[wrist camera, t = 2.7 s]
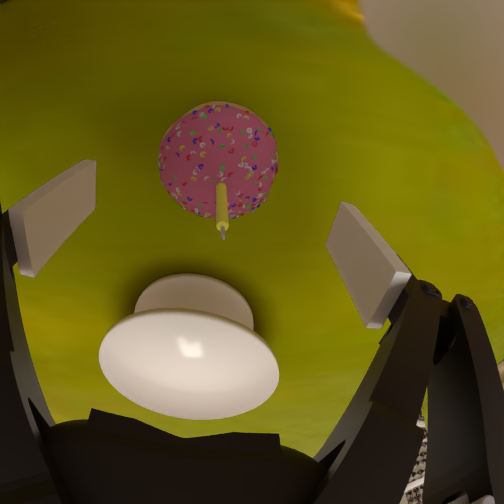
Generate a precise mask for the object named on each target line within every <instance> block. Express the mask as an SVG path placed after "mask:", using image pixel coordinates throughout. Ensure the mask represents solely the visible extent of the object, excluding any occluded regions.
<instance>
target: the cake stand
mask: <svg viewBox="0 0 504 504" xmlns="http://www.w3.org/2000/svg"><path fill="white" fill-rule="evenodd" d="M253 328H254V323H253V314H252V310H251V308H250V305H249V304H248V302H247V300H246V299H245V298H244V296H243V295H242V294H241V293H240V292H239V291H237V290H236V289H235V288H233V287H232V286H231V285H229V284H227V283H225V282H223V281H221V280H219V279H217V278H213V277H210V276H206V275H201V274H193V273H181V274H173V275H169V276H165V277H163V278H160V279H158V280H156V281H154V282H152V283H151V284H150V285H148V286H147V287H146V288H145V289H144V290H143V291H142V293H141V294H140V296H139V298H138V301H137V303H136V306H135V311H134V313H133V314H130V315H128V316H126V317H124V318H122V319H120V320H119V321H117V322H116V323H115V324H113V325H112V326H111V328H110V329H109V330H108V331H107V333H106V334H105V336H104V338H103V341H102V344H101V347H100V350H99V361H100V366H101V369H102V371H103V373H104V375H105V377H106V378H107V379H108V381H109V382H110V383H111V384H112V386H113V387H114V388H115V389H116V390H118V391H119V392H120V393H121V394H122V395H124V396H125V397H127V398H128V399H130V400H131V401H133V402H135V403H136V404H138V405H140V406H142V407H144V408H147V409H149V410H152V411H154V412H157V413H161V414H164V415H168V416H172V417H178V418H184V419H196V420H209V419H221V418H227V417H232V416H235V415H239V414H242V413H245V412H247V411H250V410H252V409H254V408H256V407H257V406H259V405H261V404H262V403H263V402H265V401H266V400H267V399H268V398H269V397H270V396H271V395H272V393H273V392H274V390H275V389H276V386H277V384H278V380H279V370H278V363H277V359H276V356H275V353H274V352H273V350H272V348H271V347H270V346H269V344H268V343H267V342H266V341H265V340H264V339H263V338H262V337H261V336H260V335H258V334H257V333H256V332H254V331H253Z"/></svg>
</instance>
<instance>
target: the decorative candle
mask: <svg viewBox="0 0 504 504" xmlns="http://www.w3.org/2000/svg"><path fill="white" fill-rule="evenodd" d="M421 415H422V411H420V414H419V417H418V420H417V424H416V425H417V426H419V427H421V428H423V430H424V438H423V442H422V445H421V448H420V451H419V454H418V457H417V460H416V463H415V466H414V469H413V471H412V474H411V477H410V479H409V482H408V484H407V487H406V489H405V492H404V493H406V497H407V500H408V504H422V496H423V485H424V476H425V466H426V453H427V431H426V426H425V423H424V422H423V421H424V417H422V416H421Z"/></svg>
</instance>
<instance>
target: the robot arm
mask: <svg viewBox="0 0 504 504" xmlns="http://www.w3.org/2000/svg"><path fill="white" fill-rule="evenodd" d="M4 1H6V0H0V3H1V2H4ZM95 209H96V160H85V159H84V160H82V161H81V162H79V163H77V164H75V165H74V166H72V167H70V168H69V169H67V170H66V171H64V172H62V173H61V174H59V175H57V176H56V177H54V178H53V179H51V180H50V181H48V182H47V183H45V184H43V185H42V186H40V187H39V188H38V189H36V190H35V191H33V192H32V193H30V194H29V195H27V196H26V197H25V198H23V199H22V200H20V201H19V202H18V203H16V204H15V205H14V206H12V207H11V208H10V209H8V210H7V211H6V212H4V213H3V214H2V211H1V203H0V504H399V503H400V501H401V499H402V496H403V494H404V492H405V489H406V487H407V484H408V482H409V479H410V477H411V474H412V471H413V469H414V466H415V463H416V460H417V457H418V454H419V451H420V448H421V445H422V442H423V438H424V430H423V428H421V427H419V426H417V425H416V424H417V420H418V417H419V414H420V410H421V407H422V403H423V400H424V396H425V392H426V388H428V433H427V453H426V466H425V476H424V485H423V496H422V504H504V390H503V386H502V382H501V378H500V374H499V371H498V367H497V363H496V360H495V357H494V353H493V350H492V347H491V344H490V341H489V338H488V335H487V332H486V329H485V327H484V324H483V321H482V319H481V316H480V313H479V311H478V308H477V307H476V305H475V304H474V303H473V301H472V300H471V299H470V298H469V297H466V296H464V295H461V294H456V295H455V297H454V298H453V300H452V302H451V303H450V302H447V301H445V300H442V294H441V293H440V291H439V290H438V289H437V288H436V287H435V286H434V285H433V284H431V283H429V282H426V281H423V280H417V279H416V277H415V276H414V275H413V273H412V272H411V271H410V270H409V268H407V266H406V265H405V263H403V261H402V260H401V258H400V257H399V256H398V255H397V254H396V253H395V252H394V251H393V250H392V248H391V247H390V246H389V245H388V244H387V242H386V241H385V240H384V239H383V238H382V236H381V235H380V234H379V233H378V232H377V231H376V229H375V228H374V227H373V226H372V225H371V224H370V223H369V221H368V220H367V219H366V218H365V217H364V216H363V215H362V214H361V212H360V211H359V210H358V209H357V208H356V207H355V206H354V205H353V204H350V203H345V202H341V203H340V206H339V209H338V212H337V215H336V217H335V220H334V223H333V226H332V229H331V232H330V234H329V237H328V240H327V243H326V245H325V246H326V248H327V249H328V251H329V253H330V255H331V257H332V259H333V261H334V263H335V265H336V267H337V269H338V271H339V273H340V275H341V277H342V279H343V281H344V283H345V285H346V287H347V289H348V291H349V293H350V295H351V297H352V300H353V302H354V304H355V306H356V308H357V310H358V312H359V314H360V316H361V319H362V321H363V323H364V325H365V327H366V328H381V327H382V326H383V324H384V322H385V321H386V319H387V317H388V318H389V320H390V322H391V325H390V327H389V328H388V330H387V331H386V333H385V334H384V336H383V338H382V339H381V341H380V342H379V344H380V347H379V349H378V351H377V353H376V355H375V357H374V359H373V361H372V363H371V365H370V367H369V369H368V371H367V373H366V375H365V377H364V378H363V380H362V382H361V384H360V386H359V388H358V389H357V391H356V393H355V395H354V397H353V398H352V400H351V402H350V404H349V405H348V407H347V409H346V410H345V412H344V414H343V415H342V417H341V419H340V420H339V422H338V424H337V425H336V427H335V428H334V430H333V432H332V433H331V435H330V436H329V438H328V439H327V441H326V442H325V444H324V445H323V447H322V448H321V449H320V451H319V452H318V453H317V454H316V456H315V457H314V458H311V457H309V456H308V455H306V454H304V453H302V452H299V451H297V450H295V449H292V448H289V447H286V446H282V445H280V438H279V434H271V433H240V432H231V433H225V434H218V435H210V436H202V437H193V438H181V437H178V436H175V435H172V434H170V433H167V432H165V431H162V430H160V429H157V428H155V427H153V426H150V425H148V424H146V423H143V422H141V421H139V420H137V419H134V418H129V417H124V416H120V415H116V414H112V413H108V412H104V411H100V410H96V409H93V408H91V412H90V415H89V419H88V420H86V419H83V420H72V421H67V422H62V423H59V424H55V422H54V420H53V418H52V416H51V414H50V412H49V409H48V407H47V404H46V402H45V399H44V396H43V393H42V391H41V388H40V385H39V382H38V379H37V376H36V372H35V369H34V366H33V363H32V359H31V356H30V352H29V348H28V344H27V340H26V336H25V332H24V328H23V323H22V318H21V313H20V308H19V302H18V297H17V290H16V284H15V276H14V272H13V268H12V267H13V265H14V264H15V263H16V262H18V266H19V270H20V274H22V275H26V276H30V277H34V278H35V276H36V275H37V274H38V273H39V271H40V270H41V269H42V268H43V266H44V265H45V264H46V263H47V261H48V260H49V259H50V258H51V257H52V256H53V254H54V253H55V252H56V251H57V250H58V249H59V247H60V246H61V245H62V244H63V243H64V242H65V241H66V239H67V238H68V237H69V236H70V235H71V234H72V233H73V232H74V231H75V230H76V228H77V227H78V226H79V225H80V224H81V223H82V222H83V221H84V220H85V219H86V218H87V217H88V216H89V215H90V214H91V213H92V212H93V211H94V210H95Z"/></svg>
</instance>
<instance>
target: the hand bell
mask: <svg viewBox="0 0 504 504" xmlns="http://www.w3.org/2000/svg"><path fill="white" fill-rule="evenodd" d="M497 367H498V371H499V374H500V378H501V382H502V386H504V360H503V361H502V362H500V363H499V364H498V365H497Z"/></svg>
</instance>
